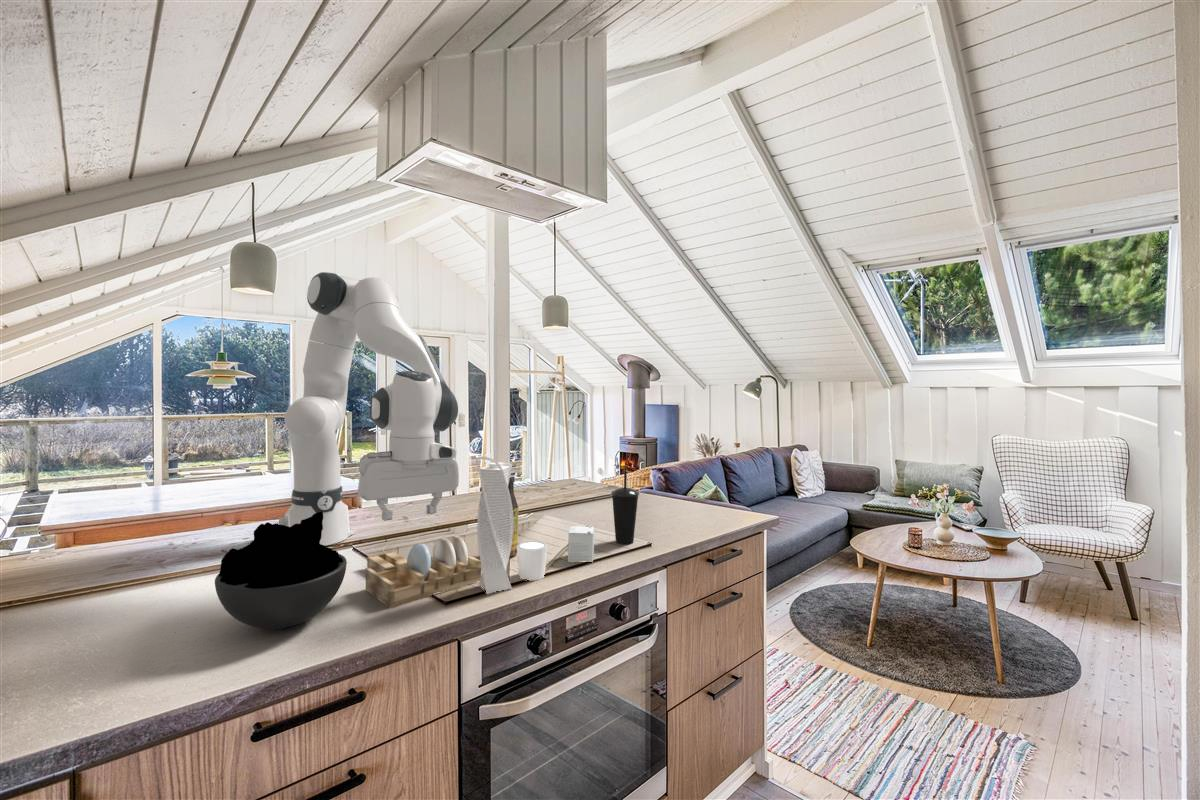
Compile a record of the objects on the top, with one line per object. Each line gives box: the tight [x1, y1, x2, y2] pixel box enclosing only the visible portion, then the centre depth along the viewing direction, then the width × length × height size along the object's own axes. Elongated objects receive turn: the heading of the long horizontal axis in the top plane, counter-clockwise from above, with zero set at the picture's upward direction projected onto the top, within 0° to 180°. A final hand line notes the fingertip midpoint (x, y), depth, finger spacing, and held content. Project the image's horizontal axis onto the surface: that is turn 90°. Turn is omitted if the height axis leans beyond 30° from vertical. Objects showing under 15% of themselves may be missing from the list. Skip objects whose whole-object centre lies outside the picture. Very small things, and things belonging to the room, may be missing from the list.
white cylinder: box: [516, 540, 548, 582], centre depth 119 cm, size 7×7×7 cm
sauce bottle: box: [508, 474, 519, 558], centre depth 133 cm, size 7×6×20 cm
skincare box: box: [567, 525, 595, 563], centre depth 131 cm, size 6×6×7 cm
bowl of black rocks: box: [214, 511, 348, 630], centre depth 94 cm, size 20×20×19 cm
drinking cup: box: [610, 468, 640, 545], centre depth 145 cm, size 8×8×20 cm
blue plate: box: [406, 543, 432, 581], centre depth 112 cm, size 8×1×8 cm, turn 43°
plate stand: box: [366, 551, 407, 573], centre depth 120 cm, size 11×6×3 cm, turn 45°
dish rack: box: [365, 535, 482, 609], centre depth 113 cm, size 12×20×9 cm, turn 135°
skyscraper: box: [475, 456, 514, 595], centre depth 112 cm, size 8×8×28 cm
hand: (409, 516), depth 110 cm, fingers open, 8 cm apart
